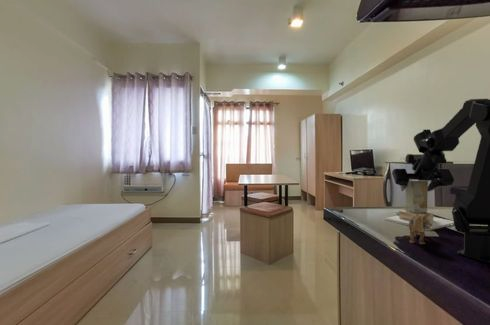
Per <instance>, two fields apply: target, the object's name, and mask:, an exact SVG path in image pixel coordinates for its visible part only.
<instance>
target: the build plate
mask: <svg viewBox="0 0 490 325" xmlns="http://www.w3.org/2000/svg"><path fill="white" fill-rule="evenodd" d="M384 220H385V221H389V222H393V223H396V224H400V225H405V226H408V227H409V222H410V221H408V220H404V219H400V218H399V215H395V216H389V217H385V219H384ZM429 222H430V223H431V224H432V226H431V227H430V229H429V230H427V229H426V230H425V231H432V230H437V229H443V228H445V226H446V227H449V226H448V225H451V224H454V221H453V220H451V219H445V218H440V217H436V216H433V221H429ZM451 226H452V225H451Z"/></svg>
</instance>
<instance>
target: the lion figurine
mask: <svg viewBox="0 0 490 325" xmlns="http://www.w3.org/2000/svg"><path fill="white" fill-rule="evenodd" d="M431 226H432V224H431V223H430V222H428V220H427V219H426V217H425V216H424V215H421V214H419V215H416V216H414V217H413V218H412V219H411V220H410V222H409V226H408V228H409V237H410V240H408V241H409V243H410V244H415V242H416V241H415V235H417V236H419V240H418V242H419V244H421V245H425V244H426V242H425V241H424V237H426V234H425V232H426V231H430V230H429V229H430V227H431ZM426 229H427V230H426Z"/></svg>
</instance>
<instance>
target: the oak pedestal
mask: <svg viewBox="0 0 490 325" xmlns="http://www.w3.org/2000/svg"><path fill="white" fill-rule="evenodd" d="M419 214H421V215H424V216H425V217H426V219H427V220H428V222H429V221H433V217H434V212H431V211H427V212H423V213H412V212H408V211H405V209H402V210H399V211H398V216H399V218H400V219H404V220H408V221H410V220H411V219H412V218H413V217H414V216H416V215H419Z"/></svg>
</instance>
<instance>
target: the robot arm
mask: <svg viewBox="0 0 490 325" xmlns="http://www.w3.org/2000/svg"><path fill="white" fill-rule="evenodd" d="M474 125H475V127H476V128H477V130H478V132H479V135H480V141H479V144H478V148H477V152H476V156H475V160H474V164H473V167H472V170H471V171H472V172H471V175H470V179H469V183H468V187H467V190H465V191H464V192H457V193H456V194H455V197H454V198H455V200H454V201H453V202H454V203H453V204H452V206H453V207H452V210H451V214H452V215H451V216H452V221H454V225H453V226H454V230H456V231H457V232H458V233H463V234H464V235H463V236H464V237H463V238H464V239H463V250H458V251H457V254H458V255H461V256H464V257H468V258H470V259H474V260H478V261H481V262H483V263H490V99H489V98H471V99H469V100H468V99H467V100H465V101H464V103H463V105H462V108H460V109H459V111H457V112H456V113H455V114H454V116H453V117H452V118H451V119H449V121H448V122H447V123H446V124H445V125H444V126H442V127H441V128H439V129H435V130H434V131H431V130H430V129H422V130H423V131H421V132H419V133H416V135H414V136H413V142H414V144H415V146H416V149H417V150H418V152H419V153H421V154H412V153H407V154H406V156H405V159H404V160H405V163H406V164H411V166H412V167H411V170H412V171H414V172H413V173H411V172H410V173H408V171H407V169H406V168H394V169H392V173H391V174H392V177H393V180H394V183H395V184H396V185H398V186H400V191H401V192H403V191H404V190H406V187H407V186H408V183H409V180H418V181H428V182H429V181H430V182H429V183H428V193H429V192H431V191H435V190H437V189H439V188H444V187H448V186H452V185H453V184H454V183H455V176H454V174H453V173H452V171H451V170H450V169H449V168H439V166H440V165H441V164H447V158H446V154H445V152H452V151H454V150H455V149H456V148H457V146H458V145H459V144H460V138H461V137H462V136H463V135H464V134H465V133H467V131H468V130H469V129H471V128H472V127H473V126H474Z"/></svg>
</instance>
